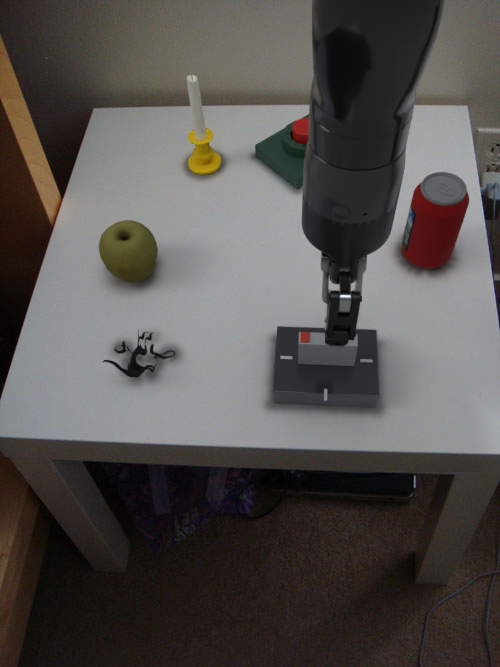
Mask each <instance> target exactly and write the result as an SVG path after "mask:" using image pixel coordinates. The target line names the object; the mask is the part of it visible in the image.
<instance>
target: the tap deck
mask: <svg viewBox="0 0 500 667" xmlns="http://www.w3.org/2000/svg"><path fill="white" fill-rule="evenodd" d="M325 330H326V323H324V327H311V326H310V327H309V326H308V327H307V326H279V325H278V326H277V327H276V336H275V340H276V341H275V352H274V353H275V354H274V366H273V367H274V368H273V382H272V401H273V404H282V405H283V404H285V405H304V406H305V405H308V406H329V407H349V408H371V409H376V408H377V406H378V402H379V399H380V378H379V376H380V375H379V356H378V355H379V352H378V330H377V329H370V328H369V329H368V328H356V334H357V335H358V348H357V353H356V359H355V365H354V366H336V365H311V364H298V343H299V332H313V333H325Z"/></svg>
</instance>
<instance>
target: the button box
mask: <svg viewBox="0 0 500 667" xmlns="http://www.w3.org/2000/svg"><path fill="white" fill-rule="evenodd" d="M302 118H309V113H307V114H306V115H305V116H303V117H302ZM297 120H298V119H296V120H293V121H292V122H289V123H288V124H286V125H285V127H283V128H282V129H280V130H278V131H277V132H275V133H273V134H272V135H270V136H268V137H266V138H265V139H263V140H261V141H259V142H258V143H256V144H254V149H255V151H254V152H255V157H256V158H257V159H259V160H260V161H261V162H262V163H263V164H265V165H266V166H267V167H269V168H270V169H271V170H273V171H274V172H275V173H276V174H277V175H278V176H280V177H281V178H283V180H284V181H286V182H288V183H289V185H291V186H292V187H293V188H295V189H296V190H298V189H300V188H301V187H303V170H304V157H305V152H306V147H307V144H301V143H297V142H296V141H294V139H293V137H292V126H293V124H294V122H295V121H297Z"/></svg>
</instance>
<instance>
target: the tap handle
mask: <svg viewBox="0 0 500 667" xmlns="http://www.w3.org/2000/svg"><path fill="white" fill-rule="evenodd" d="M357 348H358V335H357V334H356V336H355V338H354V340H349V341H348V344H347V345H345V346H344V347H341V346H329V345H327V344H326V343H325V333H313V332H299V343H298V364H311V365H336V366H354V365H355V359H356V353H357Z"/></svg>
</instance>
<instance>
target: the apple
mask: <svg viewBox="0 0 500 667" xmlns="http://www.w3.org/2000/svg"><path fill="white" fill-rule="evenodd" d="M98 251H99V257H100V259H101V261H102V263H103V264H104V266H105V268H106V269H107V270H108V271H109V272H110V274H112V276H114V277H115V278H116V279H118V280H120V281H122V282H125V283H138V282H142V281H143V280H146V278H148V277H149V276H150V275H151V274H152V272H153V271H154V269H155V267H156V264H157V260H158V253H159V252H158V251H159V250H158V243H157V240H156V237H155V236H154V234H153V233H152V231H151V230H150V228H148V227H146V225H145V224H143V223H141V222H139V221H136V220H132V219H125V220H124V219H123V220H120V221H118V222H115V223H113V224H111V225H109V227H107V228H106V229H105V230H104V231H103V232H102V234H101V236H100V238H99V241H98Z"/></svg>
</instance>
